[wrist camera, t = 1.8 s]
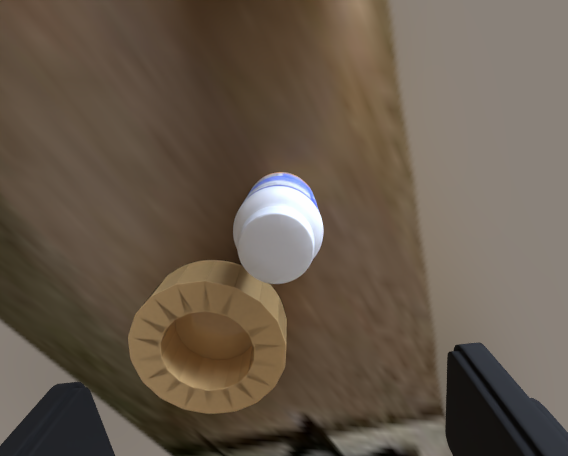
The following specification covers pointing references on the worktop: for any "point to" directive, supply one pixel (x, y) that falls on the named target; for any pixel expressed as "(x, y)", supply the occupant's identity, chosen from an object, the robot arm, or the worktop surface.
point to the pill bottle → (278, 229)
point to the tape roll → (210, 338)
